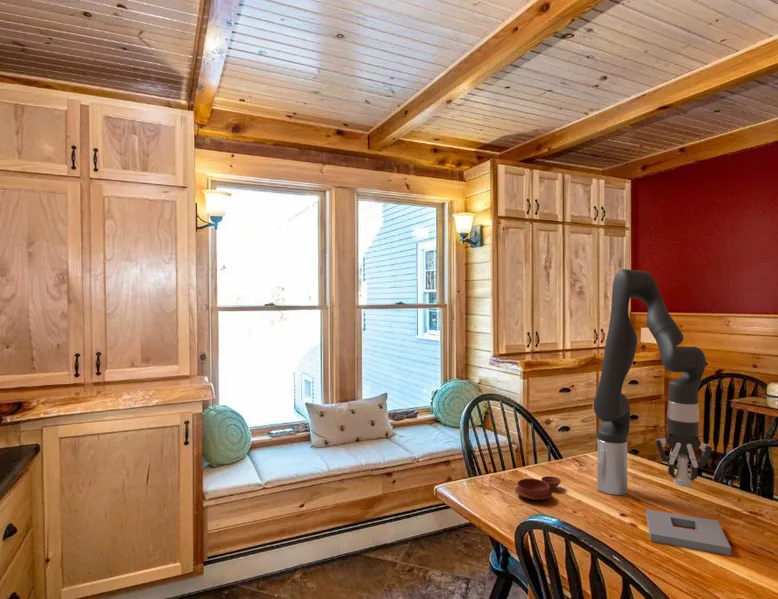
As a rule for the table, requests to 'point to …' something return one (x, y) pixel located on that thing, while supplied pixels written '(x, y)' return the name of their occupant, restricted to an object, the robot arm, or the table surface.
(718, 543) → the socket dock
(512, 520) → the table surface
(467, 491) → the table surface
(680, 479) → the rook chess piece
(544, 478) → the pottery
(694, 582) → the table surface
